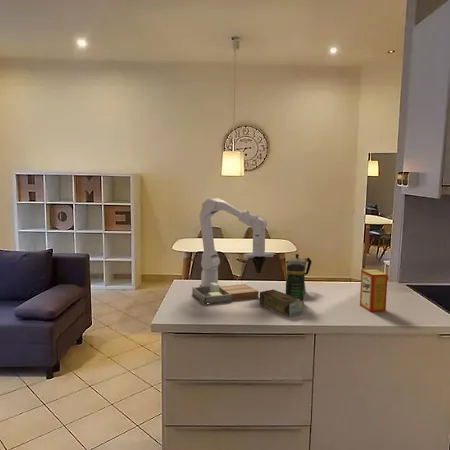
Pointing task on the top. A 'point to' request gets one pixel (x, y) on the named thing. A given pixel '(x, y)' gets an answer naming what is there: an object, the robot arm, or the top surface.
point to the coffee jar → (295, 279)
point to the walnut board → (239, 291)
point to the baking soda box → (373, 290)
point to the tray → (203, 296)
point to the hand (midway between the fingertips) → (258, 272)
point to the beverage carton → (281, 303)
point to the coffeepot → (303, 263)
